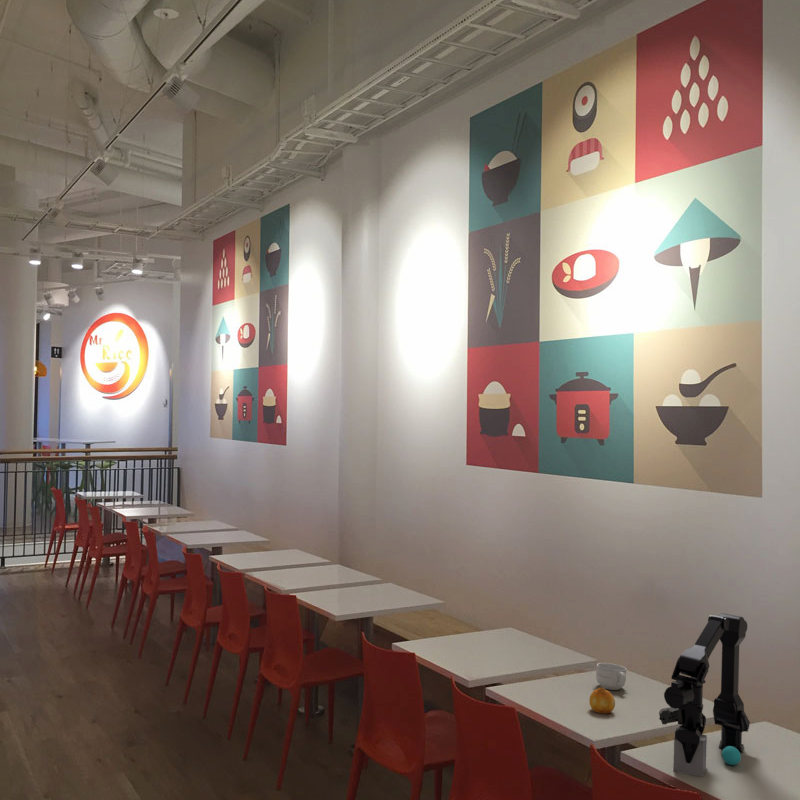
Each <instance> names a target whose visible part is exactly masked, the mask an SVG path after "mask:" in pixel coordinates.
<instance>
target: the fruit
mask: <svg viewBox="0 0 800 800" xmlns="http://www.w3.org/2000/svg"><path fill="white" fill-rule="evenodd" d="M588 701H589V706H590V708H591V710H593V711H594V712H595V713H597V712H598V713H599V714H610V713H611V712H613V711H614V709H615V707H616V700H615V697H614V695H613V694H612V693H611V692H610V691H609V690H608V689H605V688H603V687H598V688H597V689H594V690H592V692H591V694H590V695H589V700H588Z"/></svg>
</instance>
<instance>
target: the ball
mask: <svg viewBox="0 0 800 800" xmlns="http://www.w3.org/2000/svg"><path fill="white" fill-rule="evenodd" d="M721 757H722V759H723V761H724V762H725V763H726V764H728V765H729V766H736V765H738V764H739V763H740V762H741V760H742V755H741V753H740V752H739V750H738V749H737V748H735V747H733V746H727V747H725V748H724V749H722V752H721Z"/></svg>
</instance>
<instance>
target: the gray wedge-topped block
mask: <svg viewBox="0 0 800 800" xmlns="http://www.w3.org/2000/svg"><path fill="white" fill-rule="evenodd" d="M707 739H708V736H707V735H706V734H703V733H702V734H700V743H699V745H698V747H697V750H696V752H695V754H694V756H693V758H692V761H691V763H687V762H686V759H685V755H684V750H683V746H682V744H681V743H680V742H679V741H677V740H676V739H675V737H673V765H672V767H673V768H672V769H673V771H672V772H678V773H682V774H686V775H691V776H695V775H696V777H700V776H703V777H704V775H705V772H706V769H705V768H706V767H707V744H708V743H707V741H708V740H707Z"/></svg>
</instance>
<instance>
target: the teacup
mask: <svg viewBox="0 0 800 800" xmlns="http://www.w3.org/2000/svg"><path fill="white" fill-rule="evenodd" d="M627 670H628V669H627V667H625V666H623V665H620V664H615V663H610V662H598V663H597V664H596V672H595V673H596V676H595V677H596V683H598V685H599V686H600V688H604V689H605V690H608V691H609V690H610V691H611V690H612V691H619V690H620V689H621V688H623V687H624V686H625V684H626V680H627Z"/></svg>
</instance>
